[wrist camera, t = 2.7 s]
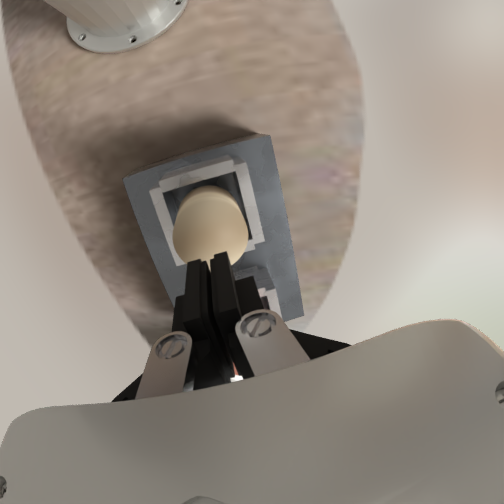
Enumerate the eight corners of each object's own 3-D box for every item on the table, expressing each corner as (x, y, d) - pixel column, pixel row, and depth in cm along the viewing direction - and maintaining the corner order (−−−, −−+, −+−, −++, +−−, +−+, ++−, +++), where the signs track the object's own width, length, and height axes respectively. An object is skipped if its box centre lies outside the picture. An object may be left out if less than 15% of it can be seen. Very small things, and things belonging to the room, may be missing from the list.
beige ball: (170, 195, 18) (161, 213, 14) (230, 177, 18) (238, 191, 15) (188, 250, 20) (186, 279, 16) (245, 234, 20) (255, 260, 17)
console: (136, 169, 24) (108, 188, 17) (258, 133, 25) (282, 137, 17) (193, 317, 33) (193, 371, 25) (290, 290, 33) (315, 338, 25)
